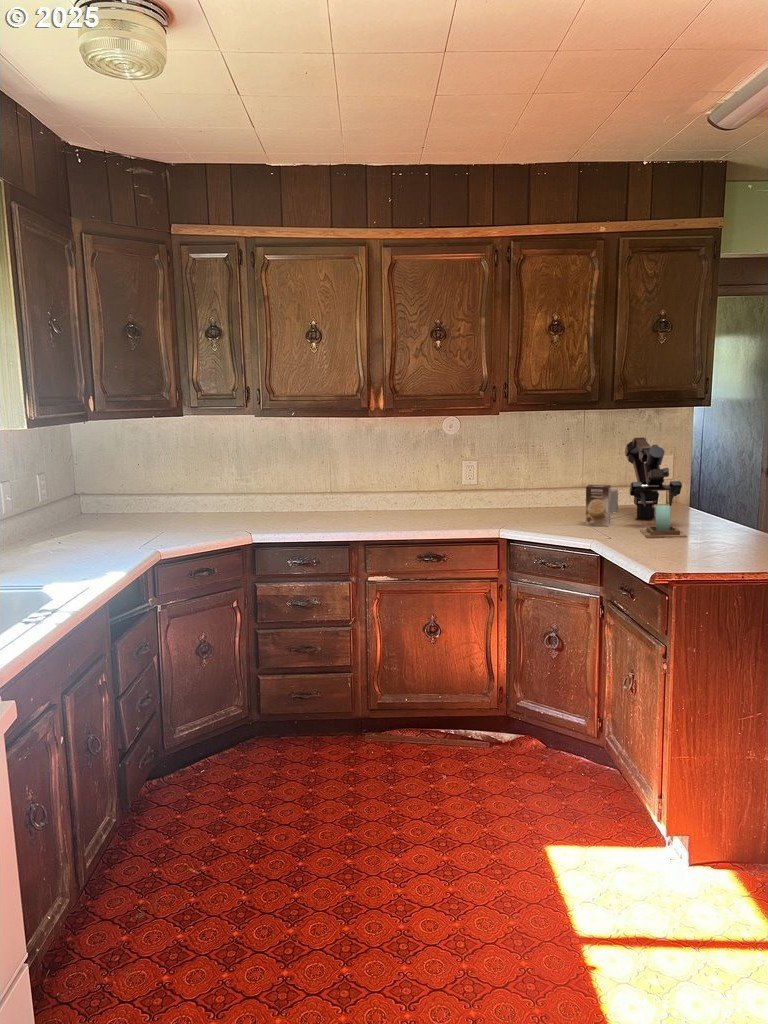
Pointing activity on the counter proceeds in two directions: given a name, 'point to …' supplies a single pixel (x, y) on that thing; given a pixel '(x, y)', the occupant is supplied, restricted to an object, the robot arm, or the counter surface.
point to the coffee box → (598, 505)
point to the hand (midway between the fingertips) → (658, 505)
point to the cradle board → (662, 532)
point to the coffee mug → (614, 500)
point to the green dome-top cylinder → (662, 518)
